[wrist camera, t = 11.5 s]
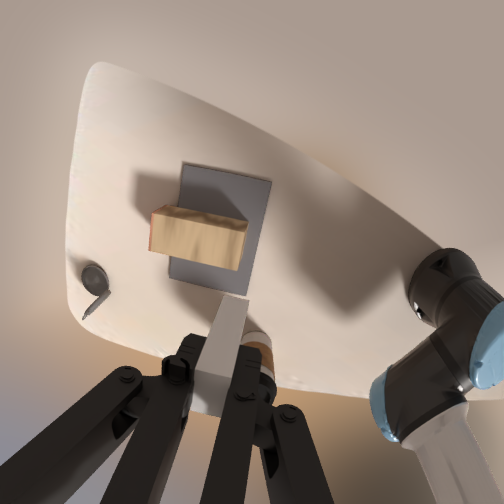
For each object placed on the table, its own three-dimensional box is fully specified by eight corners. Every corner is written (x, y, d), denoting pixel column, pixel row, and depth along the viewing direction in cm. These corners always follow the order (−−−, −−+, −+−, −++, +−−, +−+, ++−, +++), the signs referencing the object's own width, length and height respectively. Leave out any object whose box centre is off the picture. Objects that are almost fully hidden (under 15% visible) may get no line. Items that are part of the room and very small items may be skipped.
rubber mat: (271, 181, 47) (271, 182, 46) (246, 294, 54) (245, 296, 53) (185, 164, 47) (184, 165, 47) (170, 276, 54) (169, 277, 54)
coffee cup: (232, 325, 56) (218, 379, 42) (278, 325, 56) (276, 381, 42) (236, 359, 59) (224, 415, 45) (278, 359, 58) (276, 416, 44)
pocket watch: (84, 259, 55) (55, 280, 46) (119, 273, 55) (93, 297, 46) (83, 293, 58) (57, 317, 48) (116, 307, 58) (92, 334, 49)
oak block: (165, 204, 49) (249, 221, 49) (162, 238, 51) (242, 256, 51) (151, 213, 43) (244, 232, 43) (148, 250, 46) (237, 271, 45)
